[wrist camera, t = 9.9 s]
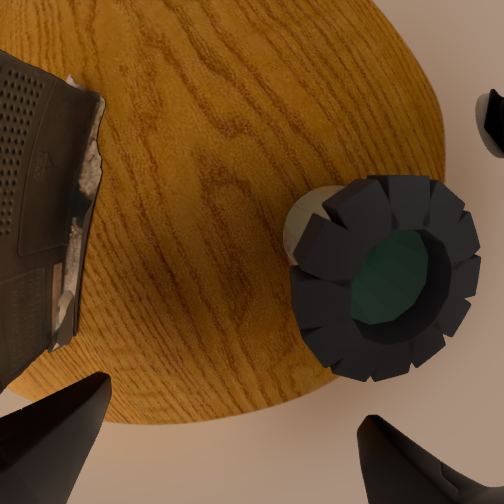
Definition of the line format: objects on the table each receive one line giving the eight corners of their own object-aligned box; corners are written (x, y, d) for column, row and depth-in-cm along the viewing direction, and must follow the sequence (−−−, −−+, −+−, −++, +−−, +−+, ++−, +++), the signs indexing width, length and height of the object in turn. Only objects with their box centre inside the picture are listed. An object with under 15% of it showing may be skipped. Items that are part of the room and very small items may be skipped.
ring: (347, 136, 10) (367, 128, 8) (476, 231, 11) (501, 239, 9) (255, 324, 12) (256, 349, 10) (397, 371, 13) (412, 393, 11)
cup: (310, 167, 19) (358, 158, 10) (390, 214, 20) (465, 238, 11) (265, 258, 21) (276, 315, 12) (347, 296, 21) (396, 359, 13)
